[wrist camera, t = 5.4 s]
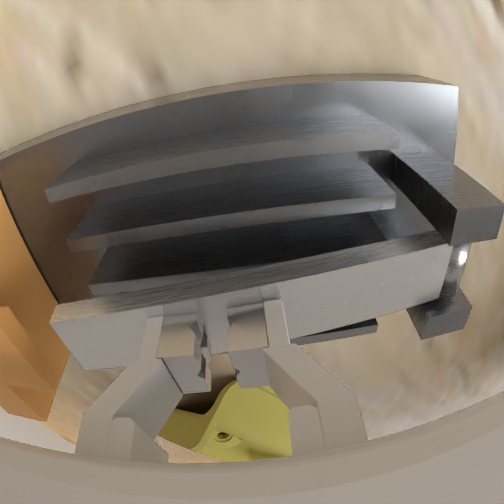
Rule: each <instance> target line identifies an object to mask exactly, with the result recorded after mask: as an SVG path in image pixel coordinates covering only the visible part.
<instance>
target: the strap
mask: <svg viewBox="0 0 504 504" xmlns="http://www.w3.org/2000/svg"><path fill="white" fill-rule="evenodd" d="M471 244H472V243H467V244H461V245H455V246H449V245H448V244H447V243H446V241H445V240H444V239H443V238H442V237H441V235H440V234H439V233H438V232H437V231H436V230H433V231H428V232H423V233H419V234H414V235H410V236H405V237H401V238H396V239H391V240H387V241H382V242H377V243H373V244H368V245H363V246H358V247H354V248H349V249H344V250H339V251H335V252H330V253H325V254H320V255H315V256H310V257H306V258H301V259H296V260H291V261H286V262H281V263H276V264H271V265H266V266H261V267H256V268H251V269H246V270H241V271H236V272H231V273H226V274H220V275H215V276H210V277H205V278H200V279H194V280H189V281H184V282H179V283H173V284H168V285H163V286H157V287H152V288H147V289H141V290H136V291H130V292H125V293H120V294H114V295H108V296H103V297H97V298H92V299H86V300H80V301H75V302H69V303H63V304H58V305H56V307H55V309H54V312H53V314H52V317H51V319H50V322H49V323H50V325H51V326H52V327H53V329H54V330H55V332H56V333H57V335H58V336H59V337H60V339H61V340H62V341H63V343H64V344H65V345H66V347H67V348H68V349H69V351H70V352H71V353H72V355H73V356H74V357H75V359H76V360H77V361H78V362H79V364H80V365H81V366H82V367H83V369H84V370H94V369H105V368H115V367H125V366H128V365H129V364H130V363H131V362H132V361H133V360H138V357H139V352H140V347H141V343H142V338H143V334H144V329H145V325H146V321H147V318H150V317H158V316H167V315H174V314H182V313H189V312H196V311H198V312H199V315H200V318H201V321H202V323H203V334H205V335H207V337H208V340H209V342H210V345H211V349H212V354H218V353H223V352H228V337H227V331H228V329H229V328H230V326H229V322H228V318H227V309H228V307H232V306H238V305H245V304H251V303H257V302H263V305H264V301H269V300H276V299H281V300H282V302H283V307H284V312H285V318H286V323H287V329H288V334H289V339H293V338H297V337H302V336H306V335H310V334H315V333H319V332H323V331H327V330H331V329H335V328H339V327H343V326H346V325H350V324H354V323H358V322H361V321H365V320H369V319H372V318H376V317H379V316H383V315H386V314H389V313H393V312H396V311H399V310H403V309H406V308H409V307H412V306H416V305H419V304H422V303H425V302H428V301H431V300H434V299H437V298H440V299H450V298H453V297H454V296H455V295H456V292H457V289H458V287H459V284H460V281H461V277H462V274H463V271H464V268H465V265H466V261H467V258H468V254H469V251H470V247H471Z"/></svg>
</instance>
